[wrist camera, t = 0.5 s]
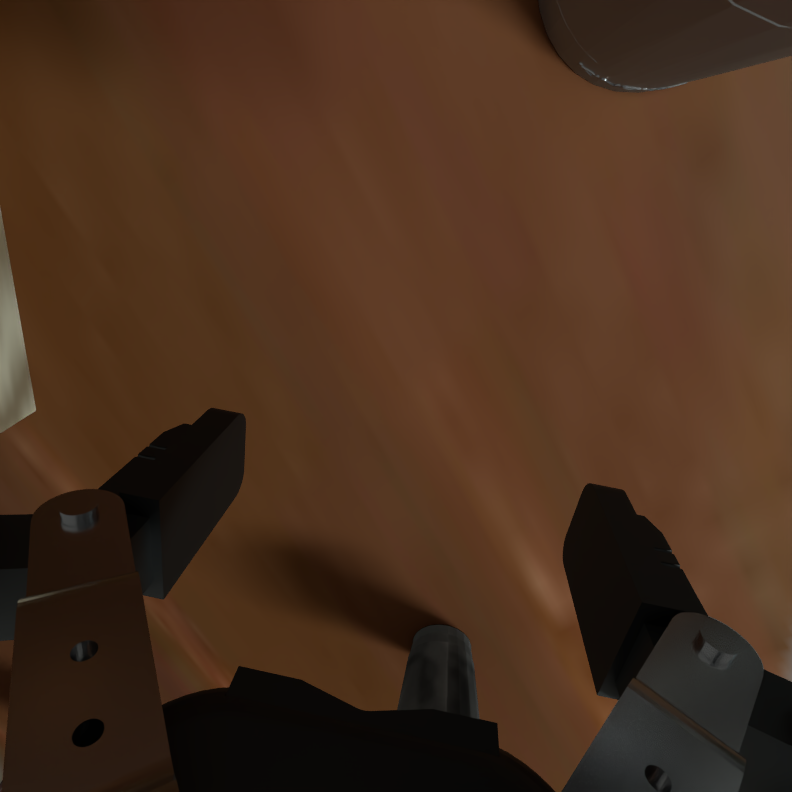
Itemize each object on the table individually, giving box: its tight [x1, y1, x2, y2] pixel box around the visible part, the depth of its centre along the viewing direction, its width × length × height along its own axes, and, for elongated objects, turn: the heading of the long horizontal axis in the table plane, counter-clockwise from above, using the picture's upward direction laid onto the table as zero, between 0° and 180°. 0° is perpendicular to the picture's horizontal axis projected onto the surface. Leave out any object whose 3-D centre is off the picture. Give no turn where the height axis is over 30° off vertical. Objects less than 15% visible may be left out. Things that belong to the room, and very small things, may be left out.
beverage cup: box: [397, 625, 479, 719], centre depth 31 cm, size 7×7×20 cm
